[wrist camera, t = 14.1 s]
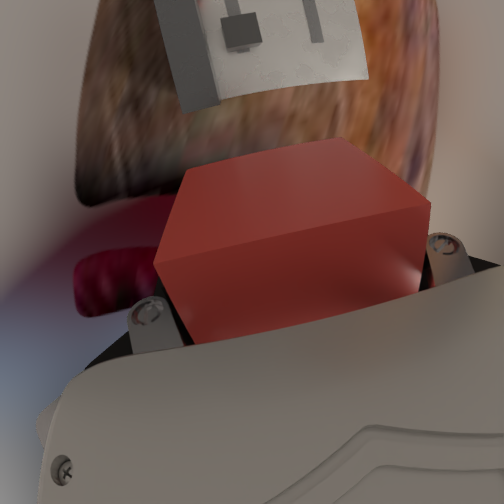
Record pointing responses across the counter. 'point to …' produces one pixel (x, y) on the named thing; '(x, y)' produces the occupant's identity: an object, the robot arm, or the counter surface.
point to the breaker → (241, 31)
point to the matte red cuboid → (289, 239)
